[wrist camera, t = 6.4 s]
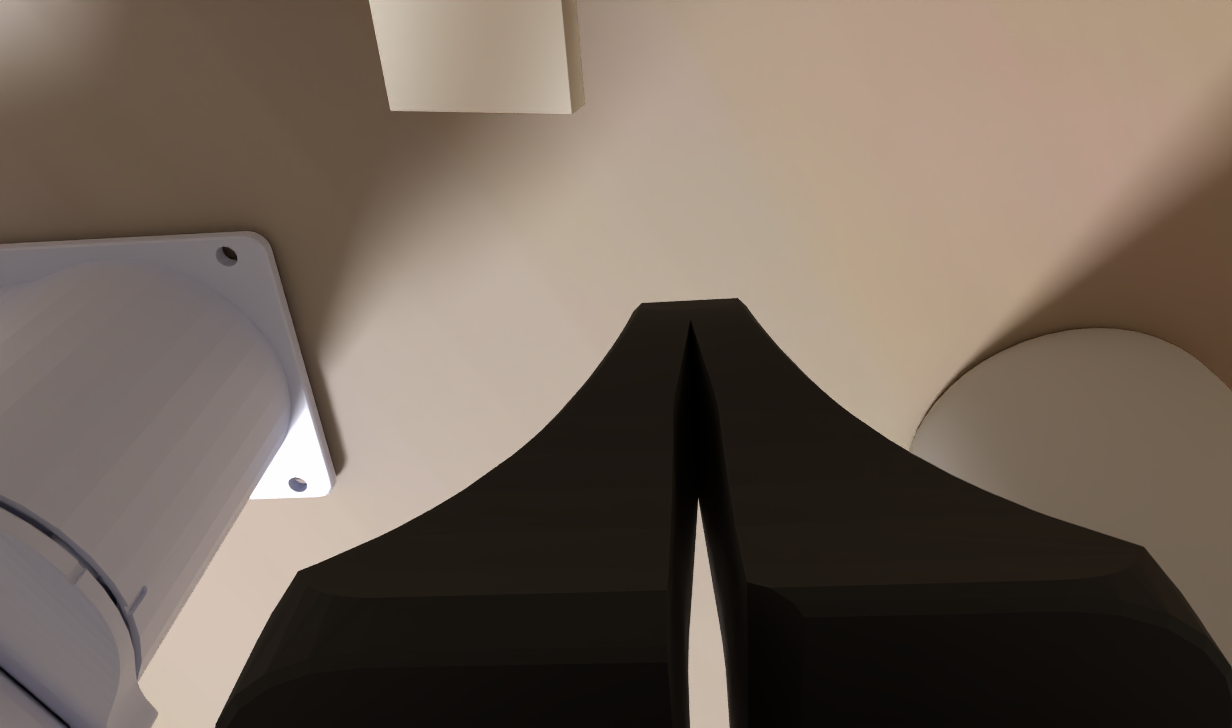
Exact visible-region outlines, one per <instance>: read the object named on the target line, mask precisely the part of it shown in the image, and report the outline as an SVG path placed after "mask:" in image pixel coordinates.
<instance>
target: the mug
mask: <svg viewBox="0 0 1232 728" xmlns="http://www.w3.org/2000/svg"><path fill="white" fill-rule="evenodd" d="M909 452H910V453H912V454H914V455H916V456H918V457H920V458H922V459H923V460H925V461H927V462H929V463H931V464H933V465H935V466H936V467H938V468H940V469H942V470H944V471H946V472H948V473H949V474H951V475H954V476H956V477H958V478H960V479H962V480H964V481H966V482H968V483H971V484H973V485H975V486H977V487H979V488H981V489H983V490H986V491H988V492H990V493H993V494H995V495H998V496H1000V497H1003V498H1005V499H1007V500H1010V501H1012V502H1015V503H1017V504H1020V505H1022V506H1024V507H1027V508H1029V509H1032V510H1034V511H1037V512H1040V513H1042V514H1045V515H1048V516H1051V517H1054V518H1057V519H1060V520H1063V521H1066V522H1069V523H1072V524H1075V525H1079V526H1082V527H1085V528H1088V529H1091V530H1094V531H1097V532H1100V533H1103V534H1106V535H1109V536H1113V537H1116V538H1119V539H1122V540H1125V541H1128V542H1131V543H1134V544H1137V545H1140V546H1143V547H1145V548H1146V550H1147V551H1148V552H1149V553H1150V555H1151V556H1152V557H1153V558H1154V560H1155V561H1156V562H1157V563H1158V565H1159V566H1160V567H1161V568H1162V569H1163V571H1164V572H1165V573H1166V574H1167V576H1168V577H1169V578H1170V579H1171V580H1172V582H1173V583H1174V584H1175V585H1176V587H1177V588H1178V589H1179V590H1180V591H1181V593H1182V594H1183V596H1184V597H1185V598H1186V600H1187V601H1188V603H1189V604H1190V606H1191V607H1192V609H1193V610H1194V611H1195V613H1196V614H1197V616H1198V617H1199V619H1200V620H1201V621H1202V623H1203V625H1204V626H1205V628H1206V630H1207V631H1208V632H1209V634H1210V635H1211V637H1212V638H1213V640H1214V641H1215V643H1216V644H1217V646H1218V647H1219V649H1220V650H1221V652H1222V653H1223V655H1224V656H1225V658H1226V659H1227V661H1228V662H1229V664H1230V665H1231V667H1232V391H1231V390H1230V389H1229V388H1228V387H1227V386H1226V385H1225V384H1224V383H1223V382H1222V381H1221V380H1220V379H1219V378H1218V377H1217V376H1216V375H1215V374H1214V373H1213V372H1211V371H1210V370H1209V369H1208V368H1207V367H1206V366H1205V365H1204V364H1202V363H1201V362H1200V361H1199V360H1198V359H1196V358H1195V357H1194V356H1192V355H1190V354H1189V353H1187V352H1186V351H1184V350H1182V349H1181V348H1179V347H1177V346H1175V345H1173V344H1171V343H1168V342H1166V341H1164V340H1161V339H1159V338H1157V337H1154V336H1151V335H1147V334H1143V333H1140V332H1136V331H1130V330H1122V329H1115V328H1087V329H1076V330H1067V331H1062V332H1057V333H1052V334H1047V335H1043V336H1040V337H1037V338H1034V339H1031V340H1027V341H1024V342H1022V343H1019V344H1017V345H1015V346H1012V347H1010V348H1008V349H1005V350H1003V351H1001V352H999V353H997V354H996V355H994V356H992V357H990V358H988V359H986V360H985V361H983V362H981V363H980V364H979V365H977V366H976V367H974V368H973V369H971V370H970V371H968V372H967V373H966V374H964V375H963V376H962V377H961V378H960V379H959V380H957V381H956V382H955V383H954V384H953V385H952V386H950V388H949V389H948V390H947V391H946V392H945V393H944V394H943V395H942V396H941V397H940V398H939V399H938V400H937V402H936V403H935V404H934V405H933V407H932V408H931V410H930V411H929V412H928V414H927V415H926V416H925V418H924V419H923V421H922V423H921V425H920V427H919V429H918V430H917V432H916V434H915V437H914V439H913V442H912V445H911V447H910V450H909Z"/></svg>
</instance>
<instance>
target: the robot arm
mask: <svg viewBox="0 0 1232 728" xmlns="http://www.w3.org/2000/svg"><path fill="white" fill-rule="evenodd" d="M223 246H224V247H229V248H231V249H232V250H233V251H235V253H236V255H237V260H232V259H230V258H228V257H227V256H225V254H224V252H223V249H222V247H223ZM294 477H297V478H301V479H303V480H304V481H305V482H306V483H305V484H304V483H300V482H298V481H296V480H295V478H294ZM335 483H336V474H335V471H334V467H333V464H332V460H331V457H330V453H329V449H328V446H327V442H326V439H325V435H324V432H323V428H322V425H321V421H320V418H319V414H318V411H317V407H316V404H315V400H314V396H313V393H312V389H311V386H310V382H309V379H308V375H307V372H306V368H305V365H304V361H303V358H302V354H301V351H300V347H299V344H298V340H297V336H296V333H295V329H294V326H293V322H292V319H291V315H290V312H289V308H288V305H287V301H286V298H285V294H284V291H283V287H282V283H281V280H280V276H279V273H278V269H277V266H276V262H275V259H274V255H273V252H272V248H271V246H270V244H269V242H268V241H267V240H266V239H265V238H264V237H263V236H261V235H259V234H257V233H255V232H250V231H237V232H218V233H199V234H180V235H161V236H142V237H123V238H105V239H86V240H67V241H48V242H29V243H10V244H0V728H151V727H152V725H153V723H154V722H155V720H156V718H157V716H158V712H157V710H156V709H155V708H154V707H153V706H152V705H151V703H150V702H149V701H148V700H147V699H146V698H145V696H144V695H143V693H142V692H141V690H140V688H139V685H138V683H137V682H138V681H139V679H140V677H141V676H142V674H143V673H144V671H145V669H146V668H147V666H148V664H149V663H150V661H151V659H152V658H153V656H154V654H155V653H156V651H157V649H158V648H159V646H160V645H161V643H162V641H163V640H164V638H165V636H166V635H167V633H168V631H169V630H170V628H171V626H172V625H173V623H174V621H175V620H176V618H177V617H178V615H179V613H180V612H181V610H182V608H183V607H184V605H185V603H186V602H187V600H188V598H189V597H190V595H191V593H192V592H193V590H194V589H195V587H196V585H197V584H198V582H199V580H200V579H201V577H202V575H203V574H204V572H205V570H206V569H207V567H208V565H209V564H210V562H211V561H212V559H213V557H214V556H215V554H216V552H217V551H218V549H219V547H220V546H221V544H222V542H223V541H224V539H225V537H226V536H227V534H228V533H229V531H230V529H231V528H232V526H233V524H234V523H235V521H236V519H237V518H238V516H239V514H240V513H241V511H242V509H243V508H244V506H245V505H246V503H247V501H248V500H249V499H274V498H303V497H322V496H326V495H328V494H329V493H331V491H332V489H333V487H334V485H335ZM698 498H699V504H700V511H701V517H702V523H703V529H704V534H705V540H706V546H707V552H708V558H709V564H710V570H711V576H712V582H713V588H714V594H715V600H716V605H717V611H718V617H719V623H720V629H721V635H722V642H723V650H724V658H725V667H726V678H727V693H728V708H729V723H730V728H1232V667H1231V665H1230V664H1229V662H1228V661H1227V659H1226V658H1225V656H1224V655H1223V653H1222V652H1221V650H1220V649H1219V647H1218V646H1217V644H1216V643H1215V641H1214V640H1213V638H1212V637H1211V635H1210V634H1209V632H1208V631H1207V630H1206V628H1205V626H1204V625H1203V623H1202V621H1201V620H1200V619H1199V617H1198V616H1197V614H1196V613H1195V611H1194V610H1193V609H1192V607H1191V606H1190V604H1189V603H1188V601H1187V600H1186V598H1185V597H1184V596H1183V594H1182V593H1181V591H1180V590H1179V589H1178V588H1177V587H1176V585H1175V584H1174V583H1173V582H1172V580H1171V579H1170V578H1169V577H1168V576H1167V574H1166V573H1165V572H1164V571H1163V569H1162V568H1161V567H1160V566H1159V565H1158V563H1157V562H1156V561H1155V560H1154V558H1153V557H1152V556H1151V555H1150V553H1149V552H1148V551H1147V550H1146V548H1145V547H1143V546H1140V545H1137V544H1134V543H1131V542H1128V541H1125V540H1122V539H1119V538H1116V537H1113V536H1109V535H1106V534H1103V533H1100V532H1097V531H1094V530H1091V529H1088V528H1085V527H1082V526H1079V525H1075V524H1072V523H1069V522H1066V521H1063V520H1060V519H1057V518H1054V517H1051V516H1048V515H1045V514H1042V513H1040V512H1037V511H1034V510H1032V509H1029V508H1027V507H1024V506H1022V505H1020V504H1017V503H1015V502H1012V501H1010V500H1007V499H1005V498H1003V497H1000V496H998V495H995V494H993V493H990V492H988V491H986V490H983V489H981V488H979V487H977V486H975V485H973V484H971V483H968V482H966V481H964V480H962V479H960V478H958V477H956V476H954V475H951V474H949V473H948V472H946V471H944V470H942V469H940V468H938V467H936V466H935V465H933V464H931V463H929V462H927V461H925V460H923V459H922V458H920V457H918V456H916V455H914V454H912V453H910V452H909V451H907V450H905V449H904V448H902V447H900V446H899V445H897V444H895V443H894V442H892V441H890V440H889V439H887V438H886V437H884V436H883V435H881V434H880V433H878V432H877V431H875V430H874V429H872V428H871V427H870V426H868V425H867V424H865V423H864V422H862V421H861V420H859V419H858V418H856V417H855V416H853V415H852V414H851V413H849V412H848V411H847V410H845V409H844V408H843V407H842V406H840V405H839V404H838V403H836V402H835V401H834V400H833V399H832V398H831V397H829V396H828V395H827V394H826V393H825V392H824V391H822V390H821V389H820V388H819V387H818V386H817V385H816V384H815V383H814V382H813V381H812V380H811V379H810V378H808V377H807V376H806V375H805V374H804V373H803V372H802V371H801V370H800V369H799V367H798V366H797V365H796V364H795V363H794V362H793V361H792V360H791V359H790V358H789V357H788V356H787V355H786V354H785V353H784V352H783V351H782V350H781V349H780V348H779V347H778V345H777V344H776V343H775V342H774V341H773V340H772V339H771V337H770V336H769V335H768V334H767V333H766V331H765V330H764V329H763V328H762V327H761V325H760V324H759V323H758V322H757V320H756V319H755V318H754V316H753V315H752V314H751V312H750V311H749V309H748V308H747V306H746V305H744V304H743V303H742V302H741V301H740V300H739V299H738V298H732V299H712V300H693V301H674V302H654V303H641V304H640V305H639V306H638V307H637V308H636V309H635V310H634V312H633V313H632V315H631V317H630V319H629V321H628V323H627V324H626V326H625V328H624V329H623V331H622V333H621V334H620V336H619V337H618V339H617V340H616V342H615V343H614V345H613V346H612V348H611V349H610V351H609V352H608V353H607V355H606V356H605V357H604V359H603V360H602V361H601V363H600V364H599V365H598V367H597V368H596V370H595V371H594V372H593V374H592V375H591V376H590V377H589V379H588V380H587V381H586V382H585V384H584V385H583V386H582V387H581V388H580V389H579V391H578V392H577V393H576V394H575V395H574V396H573V397H572V399H571V400H570V401H569V402H568V403H567V404H566V405H565V406H564V408H563V409H562V410H561V411H560V412H559V413H558V414H557V415H556V416H555V417H554V418H553V419H552V420H551V421H550V422H549V423H548V424H547V425H546V426H545V427H544V428H543V429H542V430H541V431H540V432H539V433H538V434H537V435H536V436H535V437H534V438H532V439H531V440H530V441H529V442H528V443H527V444H526V445H524V446H523V447H522V448H521V449H520V450H518V451H517V452H516V453H515V454H513V455H512V456H511V457H509V458H508V459H506V460H505V461H504V462H502V463H501V464H499V465H498V466H497V467H495V468H494V469H492V470H491V471H490V472H488V473H487V474H485V475H484V476H483V477H481V478H480V479H478V480H477V481H476V482H474V483H473V484H471V485H470V486H469V487H467V488H466V489H464V490H463V491H461V492H459V493H458V494H456V495H455V496H453V497H451V498H450V499H448V500H446V501H445V502H443V503H441V504H439V505H438V506H436V507H434V508H433V509H431V510H429V511H427V512H426V513H424V514H422V515H420V516H418V517H416V518H414V519H413V520H411V521H409V522H407V523H405V524H403V525H402V526H400V527H398V528H396V529H394V530H392V531H390V532H388V533H386V534H384V535H381V536H379V537H377V538H375V539H373V540H370V541H368V542H366V543H363V544H361V545H359V546H357V547H354V548H352V549H350V550H348V551H345V552H343V553H341V554H338V555H336V556H334V557H332V558H329V559H327V560H325V561H323V562H320V563H318V564H316V565H313V566H310V567H308V568H305V569H303V570H300V571H298V572H297V574H296V576H295V577H294V579H293V581H292V582H291V584H290V586H289V587H288V589H287V590H286V592H285V594H284V595H283V597H282V598H281V600H280V601H279V603H278V605H277V606H276V608H275V609H274V611H273V612H272V614H271V616H270V618H269V620H268V621H267V623H266V625H265V627H264V629H263V631H262V633H261V635H260V637H259V638H258V640H257V642H256V644H255V646H254V648H253V650H252V652H251V654H250V656H249V658H248V660H247V662H246V664H245V666H244V668H243V670H242V672H241V674H240V676H239V678H238V680H237V682H236V684H235V686H234V688H233V690H232V692H231V694H230V696H229V699H228V701H227V703H226V705H225V707H224V709H223V711H222V713H221V715H220V717H219V719H218V721H217V723H216V726H215V728H690V717H689V687H688V649H689V627H690V613H691V598H692V583H693V569H694V554H695V539H696V524H697V509H698Z"/></svg>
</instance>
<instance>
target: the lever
mask: <svg viewBox="0 0 1232 728" xmlns="http://www.w3.org/2000/svg"><path fill="white" fill-rule="evenodd" d="M369 3H370V8H371V14H372V19H373V24H374V29H375V34H376V39H377V44H378V50H379V55H380V60H381V65H382V70H383V75H384V80H385V86H386V91H387V96H388V101H389V106H390V111H430V112H485V113H541V114H572V113H574V112H575V111H576V110H578V109H579V108H580V107H581V106H583V105H584V104H585V99H584V87H583V75H582V64H581V52H580V40H579V29H578V17H577V5H576V0H369Z"/></svg>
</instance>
